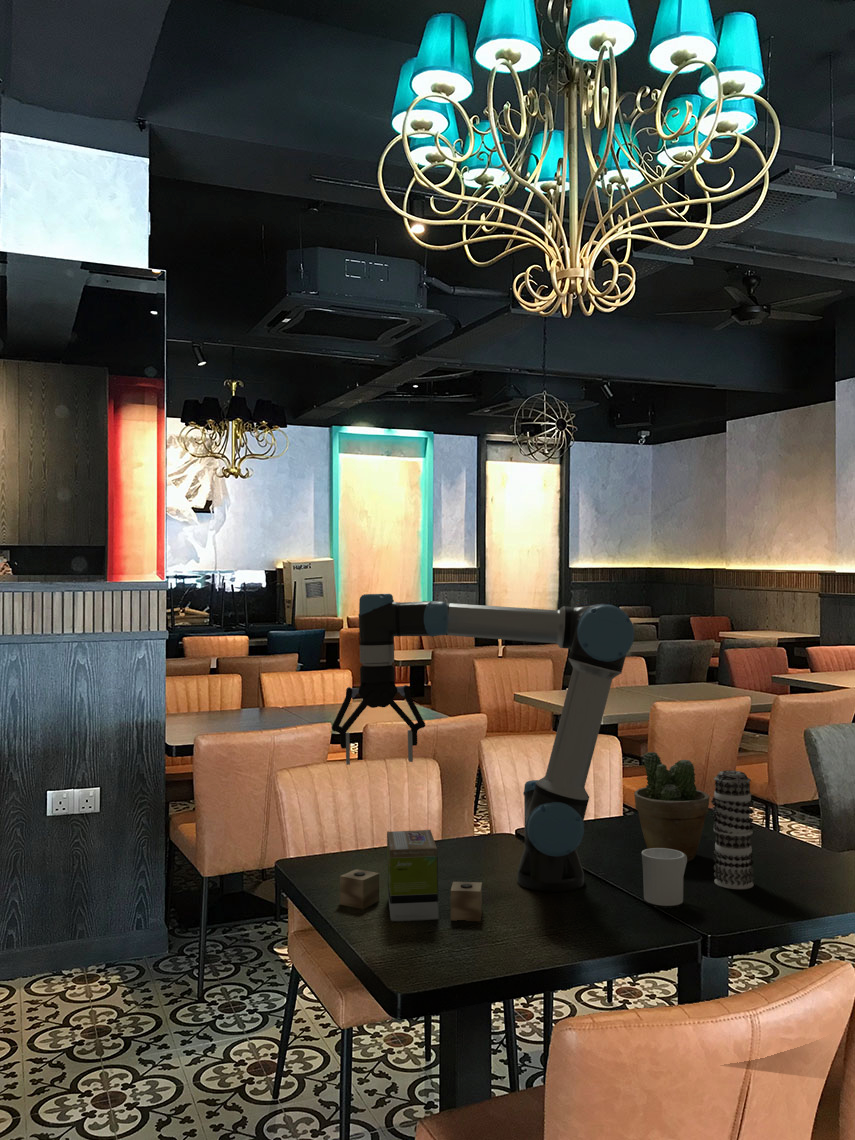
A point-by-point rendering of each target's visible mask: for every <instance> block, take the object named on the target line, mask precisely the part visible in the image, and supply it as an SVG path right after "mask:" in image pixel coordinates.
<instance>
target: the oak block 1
mask: <svg viewBox="0 0 855 1140" xmlns="http://www.w3.org/2000/svg"><path fill="white" fill-rule="evenodd" d="M378 902H380V872H374V871H369V870H363V869H358V868H356V869H353V870H351V871H349V872H346V873H344V874H341V875H339V905H342V906H347V907H350V908H351V907H352V908H357V909H361V910H364V909H366V908H368V907H371V906H372V905H374V904H377V903H378Z"/></svg>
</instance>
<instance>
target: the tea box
mask: <svg viewBox="0 0 855 1140" xmlns="http://www.w3.org/2000/svg"><path fill="white" fill-rule="evenodd" d="M436 844H437V843H436V842H435V839H434V836H433V833H432V829H420V830H419V829H418V830H417V829H416V830H399V831H393V830H392V831H387V833H386V849H387V850H386V853H387V854H386V861H387V862H386V863H387V897H388V909H389V917H390V921H391V922H411V921H431V920H434V921H435V920H438V919H439V875H438V873H439V871H438V870H439V869H438V868H439V867H438V866H439V864H438V862H439V861H438V858H439V857H438V846H437V845H436Z"/></svg>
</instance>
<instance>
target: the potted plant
mask: <svg viewBox="0 0 855 1140" xmlns="http://www.w3.org/2000/svg"><path fill="white" fill-rule="evenodd" d="M642 758H643V759H642V762H643V766H644V768H645V771H644V772H645V773H646V778H645V779H646V780H647V782H646V784H647V785H646V786H645V787H642V788H641V787H640V788H638V789H637V790H635V792H634V803H635V809H636V810H637V813H638V816H639V821H640V826H641V830H642V834H643V838H644V842H645V845H646V849H651V848H666V849H673V850H677V851H680V852H682V853H684V854H685V855H686V857H687V862H690V861H692V860H694V859H695V857H696V855H697V852H698V849H699V845H700V841H701V839H702V838H701V837H702V833H703V829H704V825H705V821H706V815H707V814H708V812H709V807H710V795H709V794H708V793H707V792H705V791H702V790H698V789H697V786H696V784H695V782H696V777H695V776H696V773H695V766H694V764H693V762H691V760H689V759H681V760H678V761H677V762H675V763H674V764H673V765H671V766H670V767H669V769H667V766H666V764H663V762H661V757H660V756H659V755H658V753H657V752H654V751H652V752H651V751H649V752H645V754H643V757H642Z"/></svg>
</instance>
